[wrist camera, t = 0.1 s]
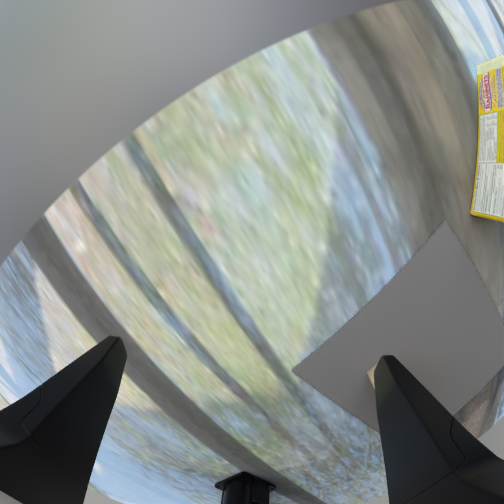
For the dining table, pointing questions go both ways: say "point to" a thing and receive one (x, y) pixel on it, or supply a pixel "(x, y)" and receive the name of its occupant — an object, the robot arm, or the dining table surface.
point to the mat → (416, 333)
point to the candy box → (490, 142)
